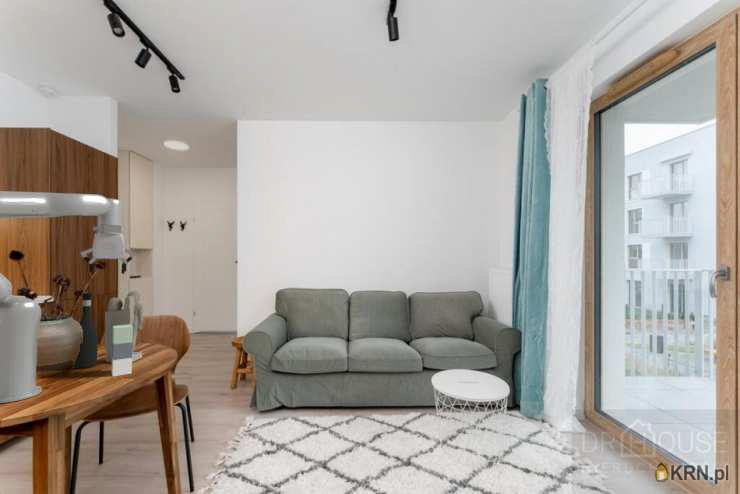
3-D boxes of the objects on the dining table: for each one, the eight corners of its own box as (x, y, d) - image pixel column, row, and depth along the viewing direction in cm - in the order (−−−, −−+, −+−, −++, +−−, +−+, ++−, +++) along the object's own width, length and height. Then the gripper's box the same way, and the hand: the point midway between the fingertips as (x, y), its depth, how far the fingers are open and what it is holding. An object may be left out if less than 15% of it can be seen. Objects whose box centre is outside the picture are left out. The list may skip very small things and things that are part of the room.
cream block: (112, 376, 138) (113, 360, 138) (111, 372, 142) (111, 356, 142) (131, 373, 141) (132, 357, 142) (129, 369, 146) (130, 354, 146)
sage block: (113, 344, 138) (114, 328, 138) (112, 341, 143) (112, 326, 143) (132, 342, 142) (132, 326, 142) (130, 339, 146) (130, 324, 147)
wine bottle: (77, 364, 152) (80, 292, 152) (100, 363, 154) (102, 291, 155) (68, 370, 144) (70, 294, 145) (92, 368, 146) (94, 293, 147)
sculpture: (148, 358, 162) (150, 290, 163) (134, 363, 154) (136, 292, 155) (117, 357, 163) (119, 289, 164) (101, 362, 155) (104, 291, 156)
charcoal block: (113, 360, 138) (113, 344, 138) (112, 356, 143) (112, 341, 143) (132, 357, 142) (132, 342, 142) (130, 354, 146) (130, 339, 146)
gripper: (81, 228, 135) (80, 274, 135) (136, 231, 146) (135, 273, 145) (81, 229, 141) (79, 274, 140) (134, 231, 152) (133, 273, 151)
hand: (108, 273), depth 143 cm, fingers open, 9 cm apart
